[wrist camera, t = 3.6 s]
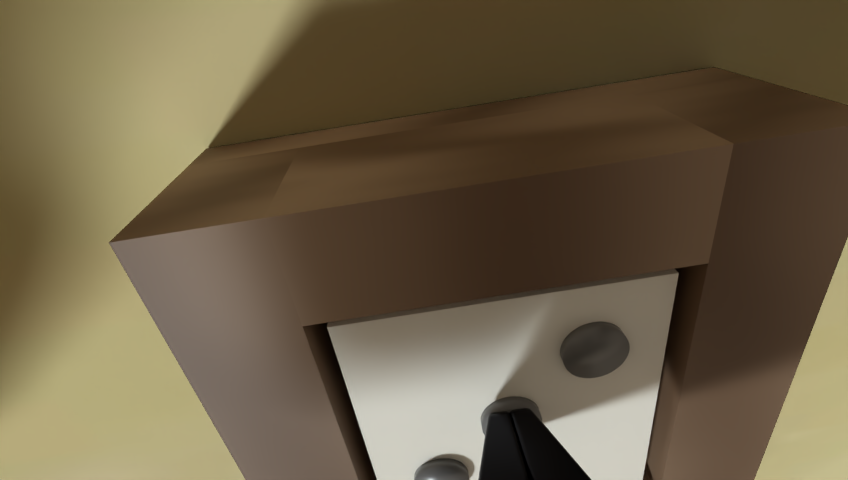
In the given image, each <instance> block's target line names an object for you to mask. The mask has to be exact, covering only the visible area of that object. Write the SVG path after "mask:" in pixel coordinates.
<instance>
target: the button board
mask: <svg viewBox="0 0 848 480" xmlns="http://www.w3.org/2000/svg"><path fill="white" fill-rule="evenodd" d="M847 237H848V105H845V104H841V103H838V102H834V101H831V100H827V99H824V98H820V97H817V96H813V95H810V94H806V93H803V92H799V91H796V90H792V89H789V88H785V87H782V86H778V85H775V84H771V83H768V82H764V81H761V80H757V79H754V78H750V77H747V76H743V75H740V74H736V73H733V72H729V71H726V70H722V69H719V68H715V67H712V68H706V69H700V70H693V71H687V72H681V73H675V74H668V75H662V76H656V77H650V78H644V79H637V80H631V81H625V82H619V83H612V84H606V85H600V86H594V87H588V88H581V89H575V90H569V91H563V92H556V93H550V94H544V95H538V96H531V97H525V98H519V99H513V100H507V101H500V102H494V103H488V104H482V105H475V106H469V107H463V108H457V109H450V110H444V111H438V112H432V113H426V114H419V115H413V116H407V117H401V118H394V119H388V120H382V121H376V122H370V123H363V124H357V125H351V126H345V127H338V128H332V129H326V130H320V131H313V132H307V133H301V134H295V135H289V136H282V137H276V138H270V139H264V140H257V141H251V142H245V143H239V144H232V145H226V146H220V147H214V148H208V149H206V150H205V151H204V152H203V153H201V154H200V155H199V156H198V157H197V158H196V159H195V160H194V161H193V162H192V163H191V164H190V165H189V166H188V167H187V168H186V169H185V170H184V171H183V172H182V173H181V174H180V175H179V176H178V177H177V178H176V179H175V180H173V181H172V182H171V183H170V184H169V185H168V186H167V187H166V188H165V189H164V190H163V191H162V192H161V193H160V194H159V195H158V196H157V197H156V198H155V199H154V200H153V201H152V202H151V203H150V204H149V205H148V206H146V207H145V208H144V209H143V210H142V211H141V212H140V213H139V214H138V215H137V216H136V217H135V218H134V219H133V220H132V221H131V222H130V223H129V224H128V225H127V226H126V227H125V228H124V229H123V230H122V231H121V232H119V233H118V234H117V235H116V236H115V237H114V238H113V239H112V240H111V241H110V242H109V244H110V245H111V247H112V249H113V251H114V252H115V254H116V256H117V258H118V259H119V261H120V263H121V264H122V266H123V268H124V270H125V271H126V273H127V275H128V277H129V278H130V280H131V282H132V284H133V285H134V287H135V289H136V290H137V292H138V294H139V296H140V297H141V299H142V301H143V303H144V304H145V306H146V308H147V310H148V311H149V313H150V315H151V316H152V318H153V320H154V322H155V323H156V325H157V327H158V329H159V330H160V332H161V334H162V336H163V337H164V339H165V341H166V342H167V344H168V346H169V348H170V349H171V351H172V353H173V355H174V356H175V358H176V360H177V362H178V363H179V365H180V367H181V368H182V370H183V372H184V374H185V375H186V377H187V379H188V381H189V382H190V384H191V386H192V388H193V389H194V391H195V393H196V394H197V396H198V398H199V400H200V401H201V403H202V405H203V407H204V408H205V410H206V412H207V414H208V415H209V417H210V419H211V420H212V422H213V424H214V426H215V427H216V429H217V431H218V433H219V434H220V436H221V438H222V440H223V441H224V443H225V445H226V446H227V448H228V450H229V452H230V453H231V455H232V457H233V459H234V460H235V462H236V464H237V466H238V467H239V469H240V471H241V472H242V474H243V476H244V478H245V479H246V480H377V478H376V475H375V472H374V469H373V466H372V463H371V460H370V457H369V454H368V451H367V448H366V445H365V442H364V439H363V436H362V433H361V430H360V427H359V424H358V420H357V417H356V414H355V411H354V408H353V405H352V402H351V399H350V396H349V393H348V390H347V387H346V384H345V381H344V378H343V375H342V372H341V369H340V366H339V363H338V360H337V357H336V353H335V350H334V347H333V344H332V341H331V338H330V335H329V332H328V329H327V325H328V322H334V321H340V320H347V319H353V318H359V317H366V316H372V315H379V314H385V313H392V312H398V311H405V310H411V309H417V308H424V307H430V306H437V305H443V304H450V303H456V302H463V301H469V300H475V299H482V298H488V297H495V296H501V295H508V294H514V293H521V292H527V291H533V290H540V289H546V288H553V287H559V286H566V285H572V284H579V283H585V282H591V281H598V280H604V279H611V278H617V277H624V276H630V275H637V274H643V273H649V272H656V271H662V270H669V269H675V270H676V271H677V272H678V273H679V275H678V280H677V286H676V292H675V298H674V303H673V309H672V315H671V321H670V326H669V332H668V338H667V343H666V349H665V355H664V361H663V366H662V372H661V378H660V384H659V389H658V395H657V401H656V406H655V412H654V418H653V424H652V429H651V435H650V441H649V446H648V452H647V458H646V464H645V469H644V475H643V480H754V479H755V476H756V473H757V471H758V468H759V466H760V463H761V461H762V458H763V455H764V453H765V450H766V448H767V445H768V442H769V440H770V437H771V435H772V432H773V429H774V427H775V424H776V422H777V419H778V416H779V414H780V411H781V409H782V406H783V403H784V401H785V398H786V396H787V393H788V390H789V388H790V385H791V383H792V380H793V378H794V375H795V372H796V370H797V367H798V365H799V362H800V359H801V357H802V354H803V352H804V349H805V346H806V344H807V341H808V339H809V336H810V333H811V331H812V328H813V326H814V323H815V320H816V318H817V315H818V313H819V310H820V308H821V305H822V302H823V300H824V297H825V295H826V292H827V289H828V287H829V284H830V282H831V279H832V276H833V274H834V271H835V269H836V266H837V263H838V261H839V258H840V256H841V253H842V250H843V248H844V245H845V243H846V240H847Z"/></svg>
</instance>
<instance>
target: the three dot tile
mask: <svg viewBox="0 0 848 480" xmlns="http://www.w3.org/2000/svg"><path fill="white" fill-rule="evenodd" d="M678 275H679V273H678V272H677V271H676V270H675V269H669V270H662V271H656V272H649V273H643V274H637V275H630V276H624V277H617V278H611V279H604V280H598V281H591V282H585V283H579V284H572V285H566V286H559V287H553V288H546V289H540V290H533V291H527V292H521V293H514V294H508V295H501V296H495V297H488V298H482V299H475V300H469V301H463V302H456V303H450V304H443V305H437V306H430V307H424V308H417V309H411V310H405V311H398V312H392V313H385V314H379V315H372V316H366V317H359V318H353V319H347V320H340V321H334V322H328V325H327V329H328V332H329V335H330V338H331V341H332V344H333V347H334V350H335V353H336V357H337V360H338V363H339V366H340V369H341V372H342V375H343V378H344V381H345V384H346V387H347V390H348V393H349V396H350V399H351V402H352V405H353V408H354V411H355V414H356V417H357V420H358V424H359V427H360V430H361V433H362V436H363V439H364V442H365V445H366V448H367V451H368V454H369V457H370V460H371V463H372V466H373V469H374V472H375V475H376V478H377V480H478V478H479V471H480V465H481V458H482V452H483V445H484V439H485V432H486V426H487V419H488V416H489V414H490V413H495V412H502V411H507V412H508V413H510V411H511V410H515V409H522V408H529V409H531V410H532V411H533V412H534V413H535V414H536V415H537V417H538V418H539V419H540V420H541V421H542V422H543V424H544V425H545V426H546V427H547V428H548V429H549V431H550V432H551V433H552V434H553V435H554V436H555V438H556V439H557V440H558V441H559V442H560V443H561V445H562V446H563V447H564V448H565V449H566V450H567V452H568V453H569V454H570V455H571V456H572V457H573V459H574V460H575V461H576V462H577V463H578V464H579V466H580V467H581V468H582V469H583V470H584V471H585V473H586V474H587V475H588V476H589V477H590V478H591V480H643V475H644V469H645V464H646V458H647V452H648V446H649V441H650V435H651V429H652V424H653V418H654V412H655V406H656V401H657V395H658V389H659V384H660V378H661V372H662V366H663V361H664V355H665V349H666V343H667V338H668V332H669V326H670V321H671V315H672V309H673V303H674V298H675V292H676V286H677V280H678Z"/></svg>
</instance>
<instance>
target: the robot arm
mask: <svg viewBox="0 0 848 480" xmlns="http://www.w3.org/2000/svg"><path fill="white" fill-rule="evenodd" d="M478 480H591V478H590V477H589V476H588V475H587V474H586V473H585V471H584V470H583V469H582V468H581V467H580V466H579V464H578V463H577V462H576V461H575V460H574V459H573V457H572V456H571V455H570V454H569V453H568V452H567V450H566V449H565V448H564V447H563V446H562V445H561V443H560V442H559V441H558V440H557V439H556V438H555V436H554V435H553V434H552V433H551V432H550V431H549V429H548V428H547V427H546V426H545V425H544V424H543V422H542V421H541V420H540V419H539V418H538V417H537V415H536V414H535V413H534V412H533V411H532V410H531V409H529V408H522V409H515V410H511V411H510V413H508V412H507V411H502V412H495V413H490V414H489V416H488V419H487V426H486V432H485V439H484V445H483V452H482V458H481V465H480V471H479V478H478Z"/></svg>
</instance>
